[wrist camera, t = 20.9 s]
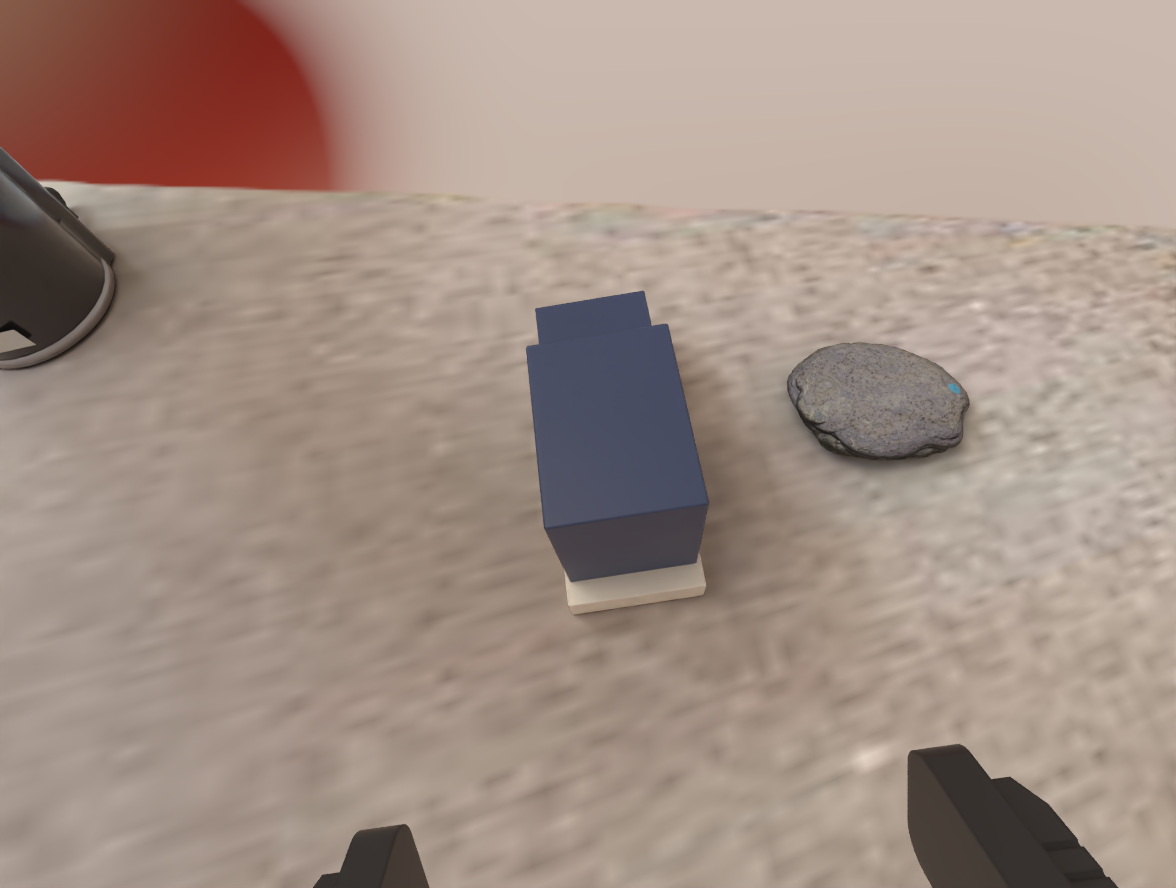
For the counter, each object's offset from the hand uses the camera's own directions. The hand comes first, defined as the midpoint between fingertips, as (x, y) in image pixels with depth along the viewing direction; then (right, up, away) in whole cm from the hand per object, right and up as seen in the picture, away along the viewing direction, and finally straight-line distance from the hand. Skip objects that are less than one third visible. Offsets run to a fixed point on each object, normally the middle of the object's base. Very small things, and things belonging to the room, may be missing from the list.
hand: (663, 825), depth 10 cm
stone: (+13, +8, +22) cm, 27 cm away
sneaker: (0, +5, +22) cm, 22 cm away
